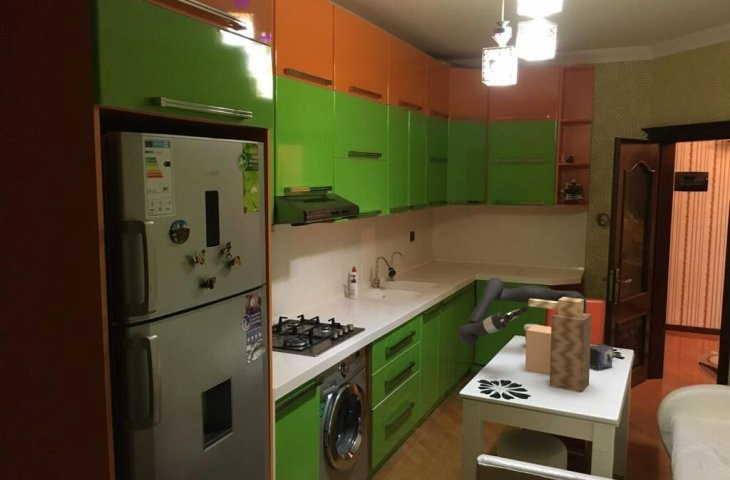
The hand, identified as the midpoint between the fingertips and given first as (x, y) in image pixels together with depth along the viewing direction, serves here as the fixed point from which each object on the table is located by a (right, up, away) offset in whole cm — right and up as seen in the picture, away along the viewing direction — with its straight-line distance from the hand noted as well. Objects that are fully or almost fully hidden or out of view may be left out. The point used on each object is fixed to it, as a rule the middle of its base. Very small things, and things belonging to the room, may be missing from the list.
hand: (524, 309), depth 266 cm
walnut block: (+18, -33, -9) cm, 38 cm away
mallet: (+11, 0, -8) cm, 14 cm away
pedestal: (+13, -30, +12) cm, 35 cm away
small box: (+41, -30, +15) cm, 53 cm away
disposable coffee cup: (+18, -27, +49) cm, 58 cm away
